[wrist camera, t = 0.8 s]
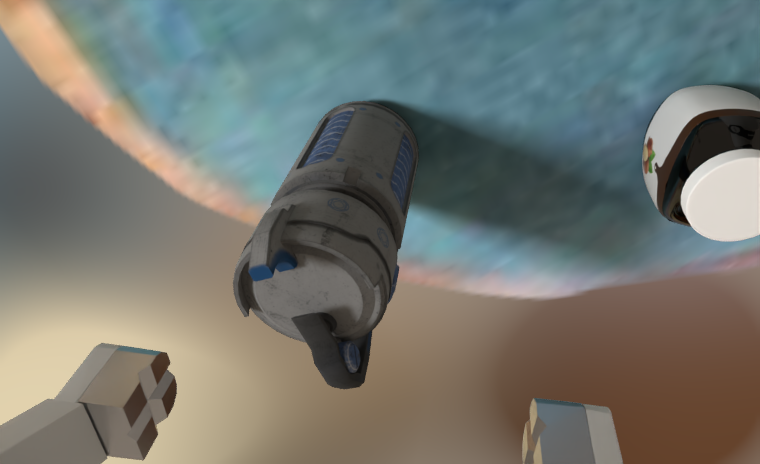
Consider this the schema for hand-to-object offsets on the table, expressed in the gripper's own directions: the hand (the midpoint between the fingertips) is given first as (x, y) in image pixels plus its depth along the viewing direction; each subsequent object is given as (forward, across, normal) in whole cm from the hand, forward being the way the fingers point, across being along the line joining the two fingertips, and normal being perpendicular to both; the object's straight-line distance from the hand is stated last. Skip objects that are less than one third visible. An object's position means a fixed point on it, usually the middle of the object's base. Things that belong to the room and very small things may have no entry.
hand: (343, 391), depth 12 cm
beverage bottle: (+40, +6, +15) cm, 43 cm away
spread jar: (+40, -24, +11) cm, 48 cm away
